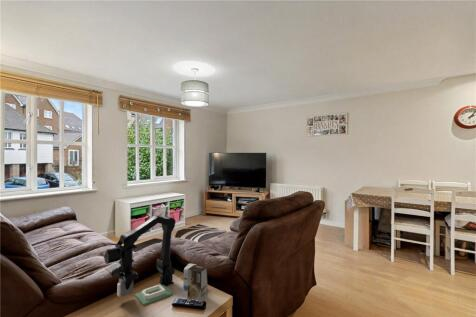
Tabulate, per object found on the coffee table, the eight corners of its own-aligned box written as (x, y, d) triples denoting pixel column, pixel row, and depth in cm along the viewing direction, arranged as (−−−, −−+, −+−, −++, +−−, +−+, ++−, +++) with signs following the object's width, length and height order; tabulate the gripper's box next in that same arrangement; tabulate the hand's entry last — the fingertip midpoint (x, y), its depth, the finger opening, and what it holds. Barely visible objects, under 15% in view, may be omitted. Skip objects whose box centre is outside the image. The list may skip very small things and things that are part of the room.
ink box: (190, 290, 138) (191, 270, 139) (182, 289, 139) (183, 269, 140) (196, 283, 147) (196, 263, 147) (188, 282, 148) (189, 263, 148)
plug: (130, 289, 132) (130, 274, 132) (133, 292, 129) (133, 277, 129) (116, 294, 127) (116, 278, 127) (118, 297, 124) (119, 281, 124)
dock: (163, 286, 143) (163, 281, 143) (172, 295, 134) (172, 289, 134) (135, 295, 132) (135, 290, 132) (143, 305, 123) (143, 300, 123)
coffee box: (207, 297, 132) (208, 267, 133) (201, 303, 127) (201, 272, 127) (193, 293, 136) (194, 264, 136) (186, 298, 130) (187, 268, 131)
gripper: (105, 256, 130) (104, 285, 130) (115, 268, 116) (114, 301, 116) (127, 251, 137) (126, 279, 137) (138, 262, 123) (138, 293, 123)
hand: (126, 287), depth 128 cm, fingers closed on plug, 4 cm apart
